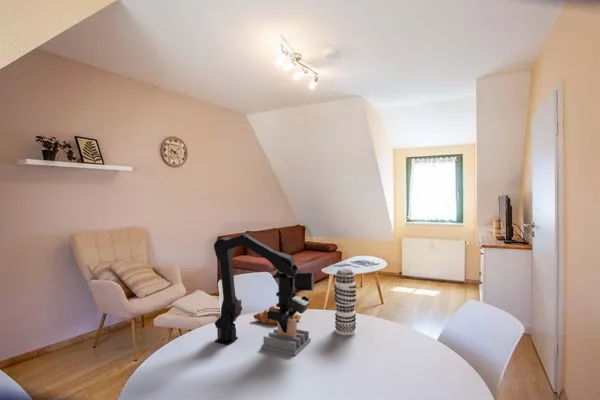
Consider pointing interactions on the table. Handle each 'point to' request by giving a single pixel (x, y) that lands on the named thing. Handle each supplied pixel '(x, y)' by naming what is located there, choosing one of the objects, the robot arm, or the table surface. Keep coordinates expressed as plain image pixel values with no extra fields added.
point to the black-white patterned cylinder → (345, 302)
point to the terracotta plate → (289, 328)
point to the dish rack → (286, 342)
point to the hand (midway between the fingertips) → (286, 331)
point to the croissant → (263, 319)
